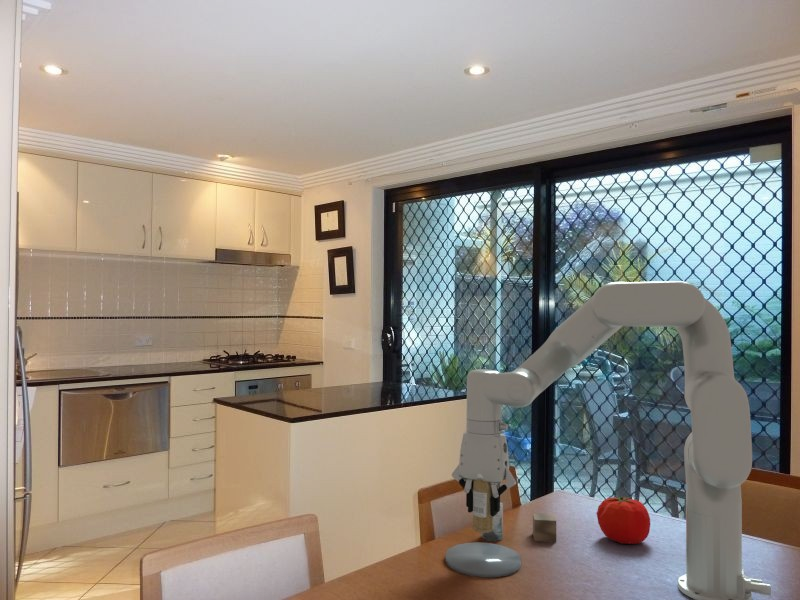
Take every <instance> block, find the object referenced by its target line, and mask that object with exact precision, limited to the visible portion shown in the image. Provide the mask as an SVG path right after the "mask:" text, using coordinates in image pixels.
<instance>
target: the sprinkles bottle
mask: <svg viewBox="0 0 800 600" xmlns="http://www.w3.org/2000/svg"><path fill="white" fill-rule="evenodd" d="M477 477H478V478H483V476H482V475H481V474H478V475H477ZM492 494H493V493H492V488H491V483H490V482H485V481H483V479H477V480H473V511H472V530H474V531H475V532H477V533H481V534H482V533H487V532H491V531H493V516H491V515H490V499H491V497H492Z"/></svg>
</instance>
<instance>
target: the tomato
mask: <svg viewBox="0 0 800 600" xmlns="http://www.w3.org/2000/svg"><path fill="white" fill-rule="evenodd" d="M633 496H634V495H630V496H628V497H623V496H617V497H615V496H612V497H608V498H605V499H604V500H603V501H601V503H599V505H598V507H597V510H596V517H597V522H598V523H597V524H598V525H599V528H600V530H601V532H602V533H603V535H604V536H605V537H607V538H608V539H609V540H612V541H615V542H617V543H620V544H629V545H636V544H639V543H642V542H644V541H645V540H646V539H647V538H648V536H649V534H650V531H651V530H650V529H651V516H650V514H649V511H648V509H647V508H646V506H645V505H644V504H643V502H641V501H639V500H637V499H632V498H631V497H633ZM630 498H631V499H630Z"/></svg>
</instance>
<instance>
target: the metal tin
mask: <svg viewBox="0 0 800 600" xmlns="http://www.w3.org/2000/svg"><path fill="white" fill-rule="evenodd" d="M482 538H483V540H484V539H485V540H484V541H489V542H500V541H502V540H503V539H504V503H503V502H501V501H500V511H499V512H498V513H497V514H496V515H495V516H494V517H493V531H491V532H487V533H481V539H482Z"/></svg>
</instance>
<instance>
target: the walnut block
mask: <svg viewBox="0 0 800 600" xmlns="http://www.w3.org/2000/svg"><path fill="white" fill-rule="evenodd" d="M532 536H533V540H535V542H546V541H550V542H549V543H557V519H556V516H555V514H554V513H535V512H532ZM551 541H552V542H551Z"/></svg>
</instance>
